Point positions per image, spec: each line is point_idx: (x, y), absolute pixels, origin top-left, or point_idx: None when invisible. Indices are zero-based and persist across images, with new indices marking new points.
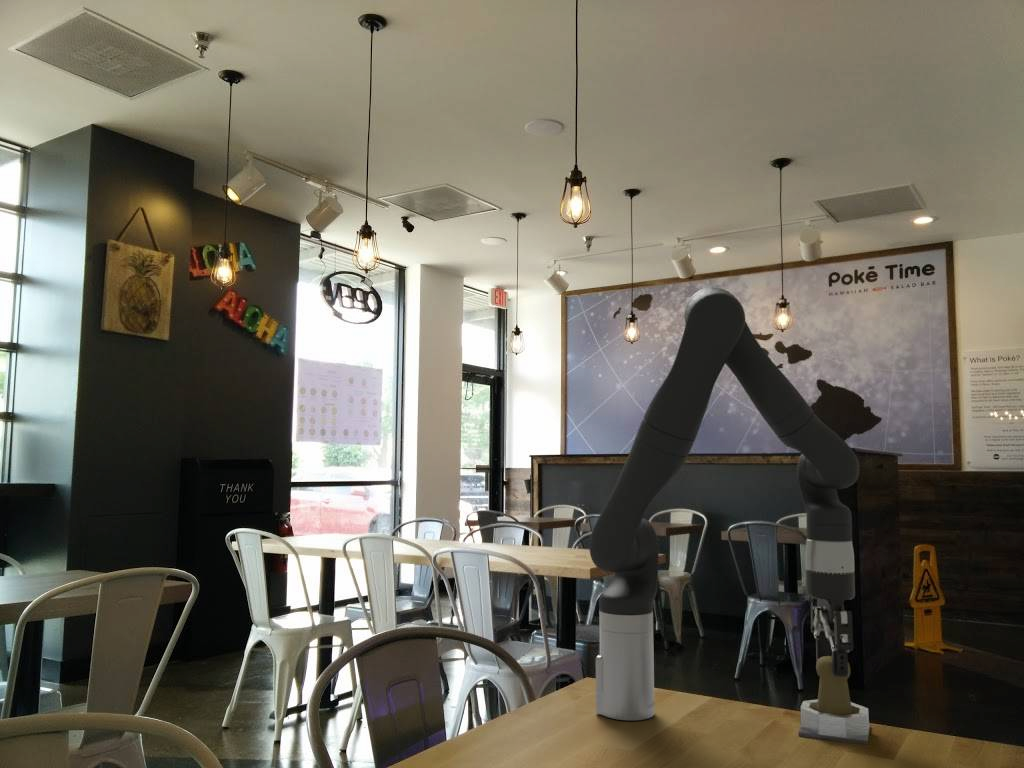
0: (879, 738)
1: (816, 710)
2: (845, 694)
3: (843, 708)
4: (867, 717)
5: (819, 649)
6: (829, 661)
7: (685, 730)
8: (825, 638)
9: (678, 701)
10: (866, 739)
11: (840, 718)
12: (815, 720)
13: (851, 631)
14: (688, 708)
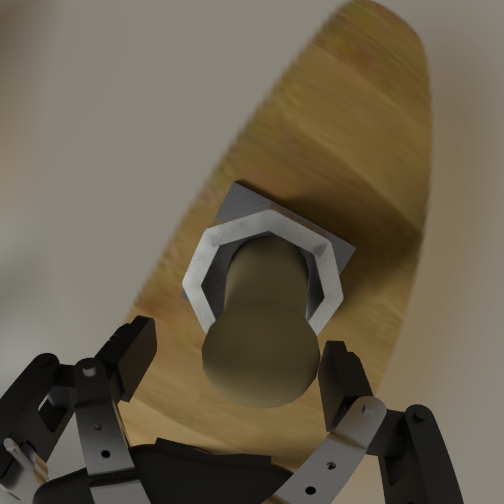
0: (316, 199)
1: (215, 301)
2: (302, 300)
3: (306, 293)
4: (316, 231)
5: (139, 373)
6: (295, 398)
7: (251, 441)
8: (114, 383)
9: (128, 410)
10: (348, 245)
11: (337, 307)
12: None
13: (449, 468)
14: (155, 414)
